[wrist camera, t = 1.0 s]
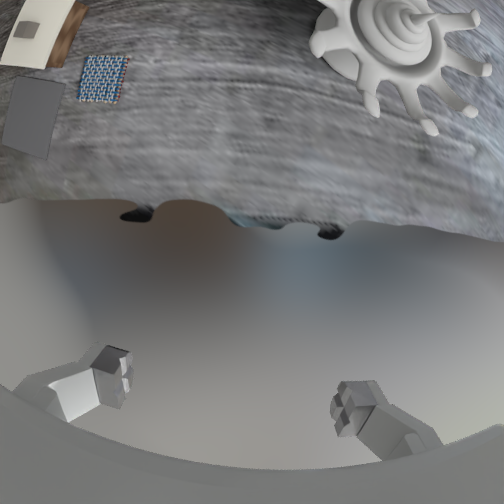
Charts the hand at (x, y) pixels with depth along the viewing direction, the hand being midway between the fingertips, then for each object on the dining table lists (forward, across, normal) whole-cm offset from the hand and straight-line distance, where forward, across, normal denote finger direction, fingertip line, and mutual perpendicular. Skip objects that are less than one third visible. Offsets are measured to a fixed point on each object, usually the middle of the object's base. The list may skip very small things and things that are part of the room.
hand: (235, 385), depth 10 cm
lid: (+29, +49, -36) cm, 68 cm away
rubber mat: (+40, +54, -19) cm, 70 cm away
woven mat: (+41, +34, -26) cm, 59 cm away
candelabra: (+40, -15, -41) cm, 59 cm away
